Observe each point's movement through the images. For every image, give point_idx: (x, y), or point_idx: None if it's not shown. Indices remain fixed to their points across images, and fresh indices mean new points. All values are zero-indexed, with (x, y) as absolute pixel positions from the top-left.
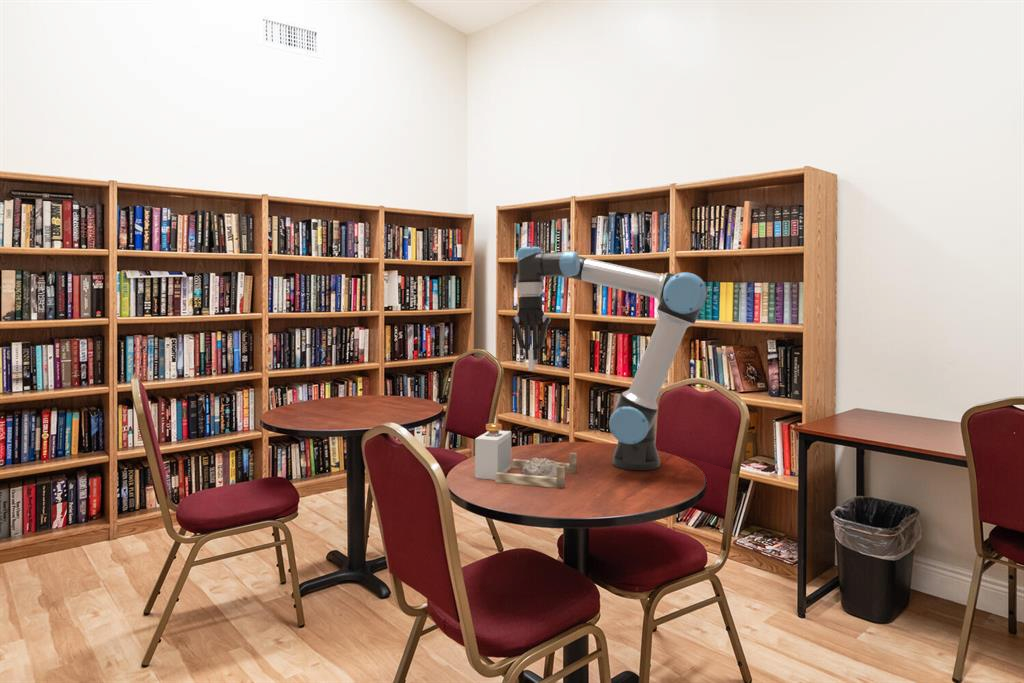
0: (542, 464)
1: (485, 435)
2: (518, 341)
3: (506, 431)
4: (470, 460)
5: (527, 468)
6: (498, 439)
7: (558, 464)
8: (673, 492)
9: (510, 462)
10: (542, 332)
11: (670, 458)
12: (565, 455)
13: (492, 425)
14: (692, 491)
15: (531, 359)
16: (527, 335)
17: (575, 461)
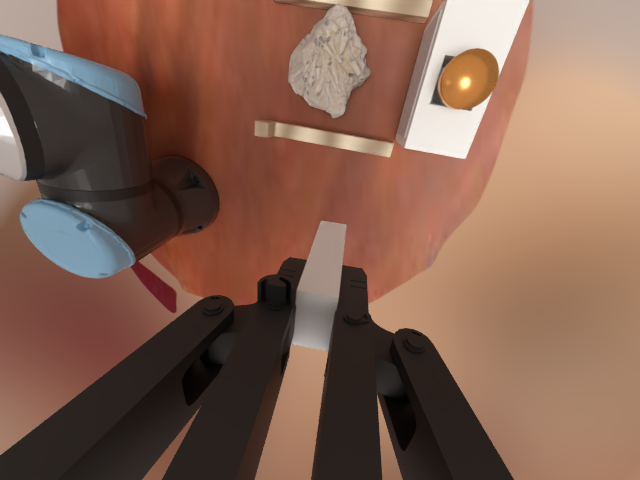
0: (319, 35)
1: None
2: (459, 396)
3: (417, 142)
4: (481, 193)
5: (355, 33)
6: (445, 6)
7: (289, 79)
8: (86, 8)
9: (397, 132)
10: (38, 465)
11: None
12: (300, 245)
13: (475, 61)
14: (62, 24)
15: (322, 251)
16: (330, 465)
17: (260, 120)
